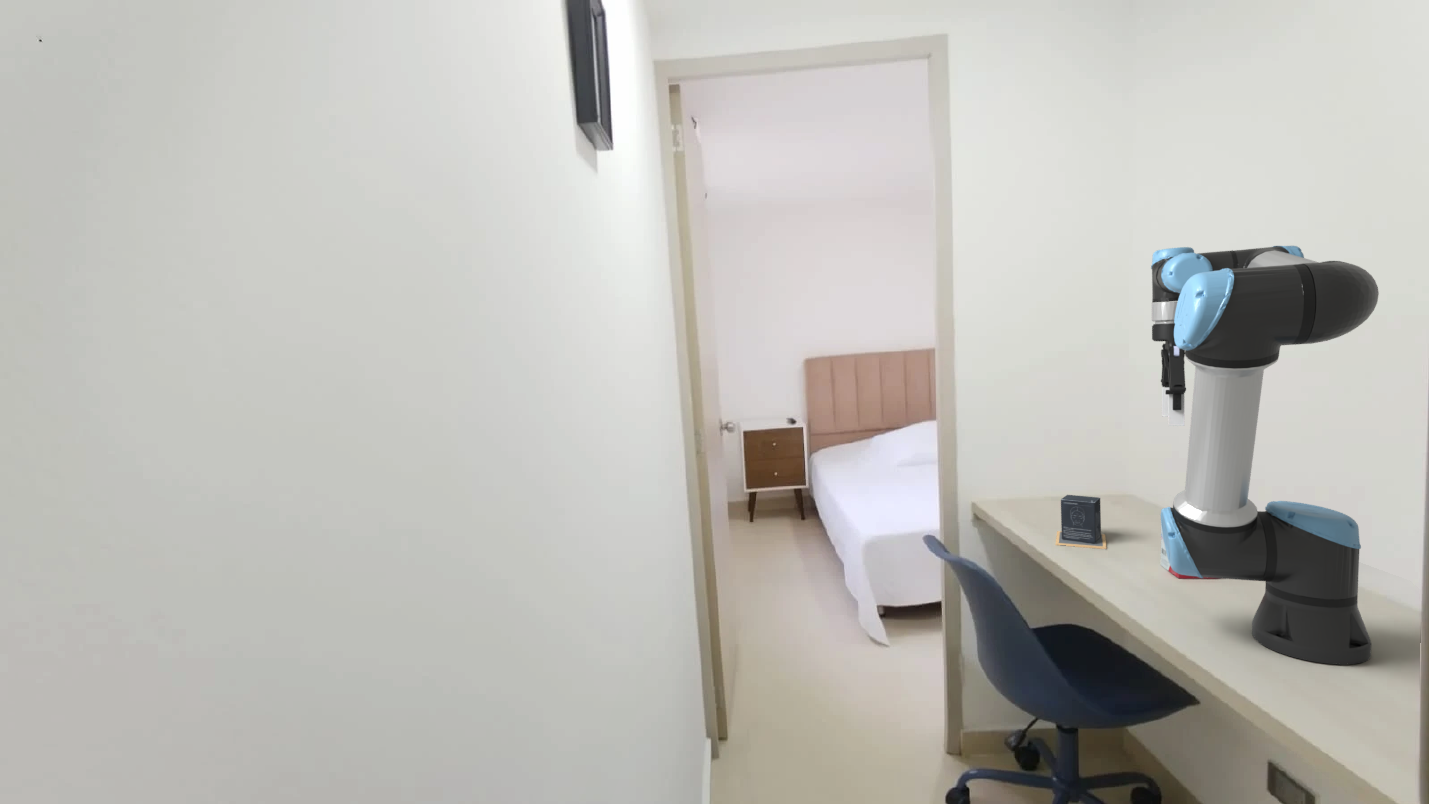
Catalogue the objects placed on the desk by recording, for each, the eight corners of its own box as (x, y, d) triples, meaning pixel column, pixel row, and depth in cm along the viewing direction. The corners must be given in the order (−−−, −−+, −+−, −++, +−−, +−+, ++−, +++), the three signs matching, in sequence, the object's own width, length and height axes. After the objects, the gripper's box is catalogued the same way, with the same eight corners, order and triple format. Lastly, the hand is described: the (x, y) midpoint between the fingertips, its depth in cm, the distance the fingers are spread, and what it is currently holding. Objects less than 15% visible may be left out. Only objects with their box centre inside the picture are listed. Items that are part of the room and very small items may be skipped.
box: (1101, 538, 175) (1100, 497, 173) (1095, 544, 170) (1095, 502, 169) (1067, 533, 180) (1066, 493, 179) (1061, 539, 176) (1060, 498, 175)
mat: (1106, 549, 168) (1106, 547, 168) (1055, 545, 173) (1055, 543, 173) (1105, 535, 177) (1105, 534, 177) (1057, 532, 183) (1057, 531, 183)
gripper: (1202, 322, 135) (1202, 429, 138) (1186, 319, 157) (1186, 412, 159) (1157, 324, 139) (1157, 429, 141) (1147, 322, 161) (1147, 413, 163)
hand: (1172, 420), depth 150 cm, fingers open, 13 cm apart
